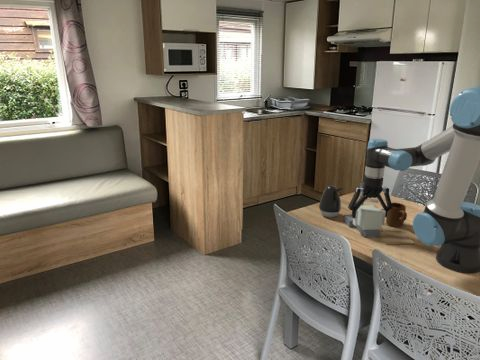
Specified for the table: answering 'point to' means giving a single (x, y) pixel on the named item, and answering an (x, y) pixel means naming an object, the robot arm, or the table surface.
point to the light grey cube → (370, 217)
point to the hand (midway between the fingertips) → (368, 224)
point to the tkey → (366, 199)
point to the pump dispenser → (330, 202)
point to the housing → (366, 233)
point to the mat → (395, 238)
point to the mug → (396, 215)
